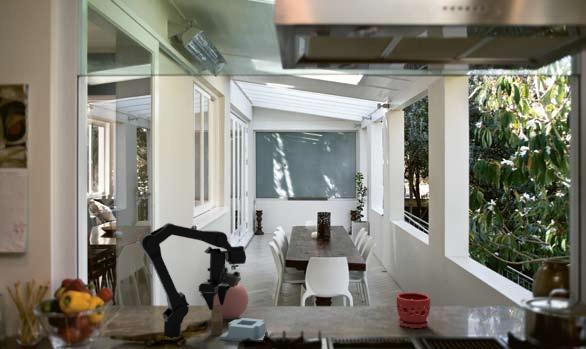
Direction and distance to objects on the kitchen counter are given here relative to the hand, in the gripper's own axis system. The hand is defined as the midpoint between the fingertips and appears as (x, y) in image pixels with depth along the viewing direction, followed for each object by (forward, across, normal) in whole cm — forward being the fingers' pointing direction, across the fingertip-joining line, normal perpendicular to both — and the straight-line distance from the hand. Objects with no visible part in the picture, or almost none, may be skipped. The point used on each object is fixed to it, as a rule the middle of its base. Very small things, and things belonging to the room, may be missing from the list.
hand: (216, 307), depth 188 cm
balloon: (+10, +22, +7) cm, 25 cm away
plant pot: (+10, +35, -69) cm, 78 cm away
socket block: (+10, 0, -12) cm, 15 cm away
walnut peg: (+10, 0, 0) cm, 10 cm away
